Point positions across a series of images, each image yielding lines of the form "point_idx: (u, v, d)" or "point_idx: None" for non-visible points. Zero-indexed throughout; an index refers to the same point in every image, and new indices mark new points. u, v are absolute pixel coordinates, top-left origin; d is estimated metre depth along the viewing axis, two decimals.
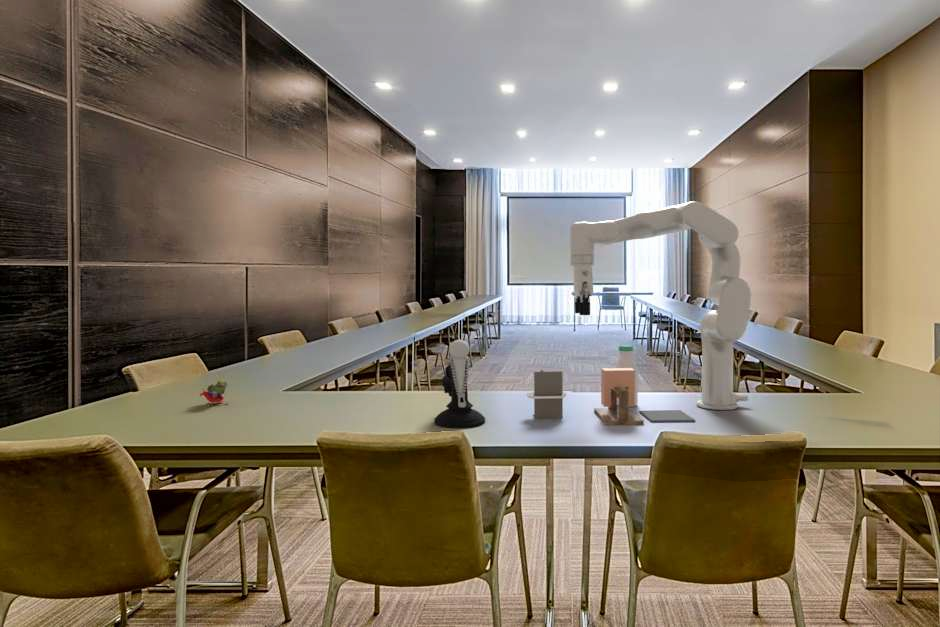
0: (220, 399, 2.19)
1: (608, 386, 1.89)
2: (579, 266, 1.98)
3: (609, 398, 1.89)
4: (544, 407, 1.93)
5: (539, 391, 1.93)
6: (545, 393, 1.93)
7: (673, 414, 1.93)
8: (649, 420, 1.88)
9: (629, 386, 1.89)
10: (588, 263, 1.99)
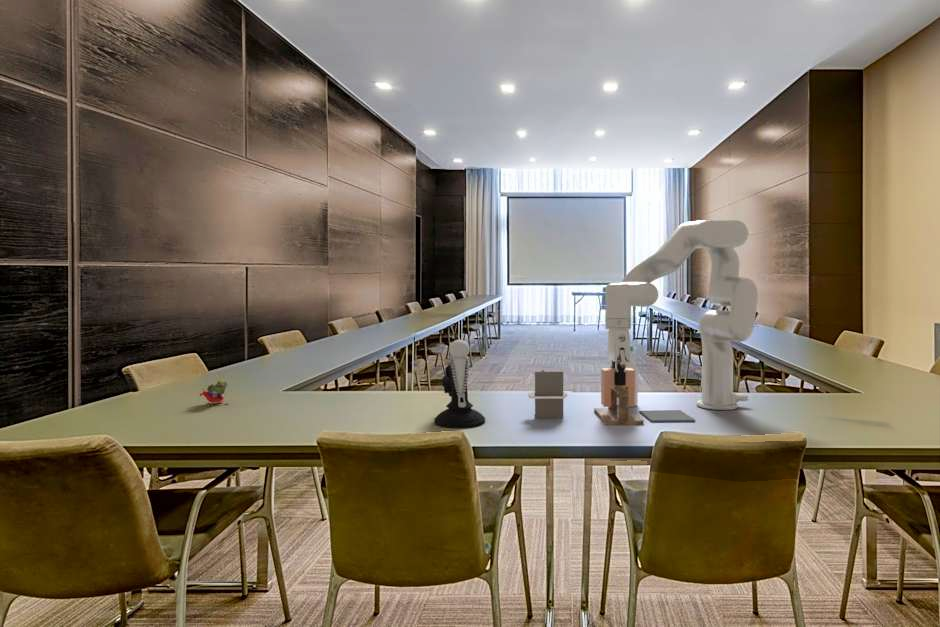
0: (220, 399, 2.19)
1: (608, 386, 1.89)
2: (616, 331, 1.86)
3: (609, 398, 1.89)
4: (545, 407, 1.93)
5: (540, 391, 1.93)
6: (546, 393, 1.93)
7: (673, 414, 1.93)
8: (649, 420, 1.88)
9: (629, 386, 1.89)
10: (625, 327, 1.87)
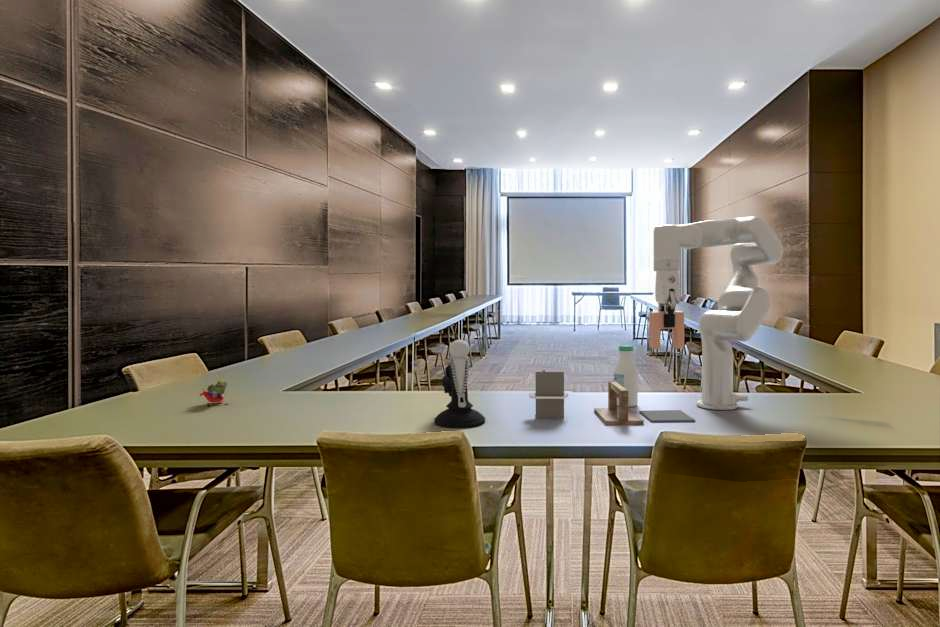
0: (220, 399, 2.19)
1: (657, 328, 1.88)
2: (665, 272, 1.85)
3: (658, 340, 1.89)
4: (545, 407, 1.93)
5: (540, 391, 1.93)
6: (546, 393, 1.93)
7: (673, 414, 1.93)
8: (649, 420, 1.88)
9: (678, 328, 1.89)
10: (674, 268, 1.86)
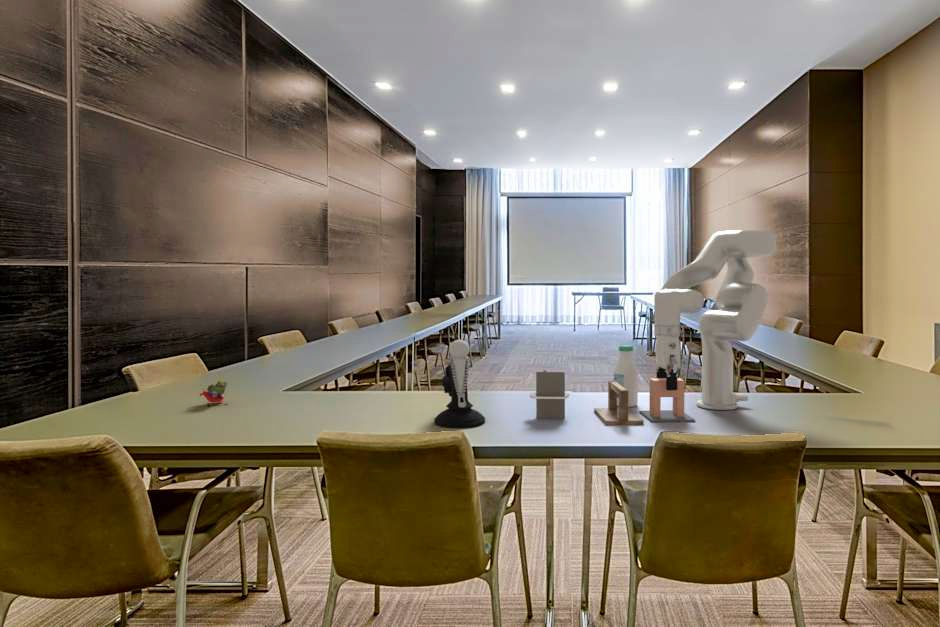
0: (220, 399, 2.19)
1: (658, 396, 1.90)
2: (666, 338, 1.87)
3: (658, 408, 1.90)
4: (546, 407, 1.93)
5: (541, 391, 1.93)
6: (547, 393, 1.92)
7: (673, 414, 1.93)
8: (649, 420, 1.88)
9: (678, 396, 1.90)
10: (675, 335, 1.87)
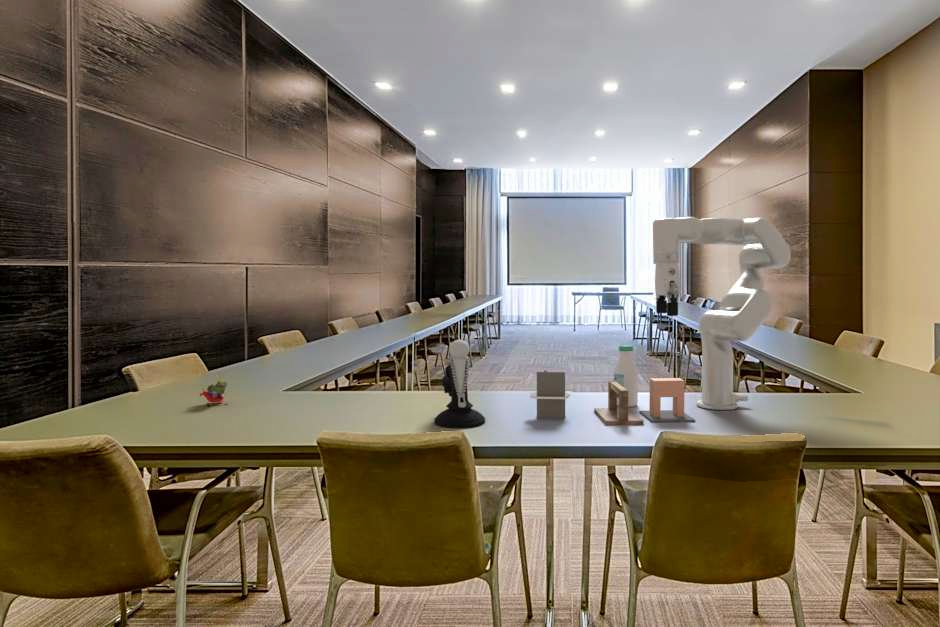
0: (220, 399, 2.19)
1: (658, 396, 1.90)
2: (665, 264, 1.89)
3: (658, 408, 1.90)
4: (546, 407, 1.93)
5: (541, 391, 1.93)
6: (547, 393, 1.92)
7: (673, 414, 1.93)
8: (649, 420, 1.88)
9: (678, 396, 1.90)
10: (674, 261, 1.89)
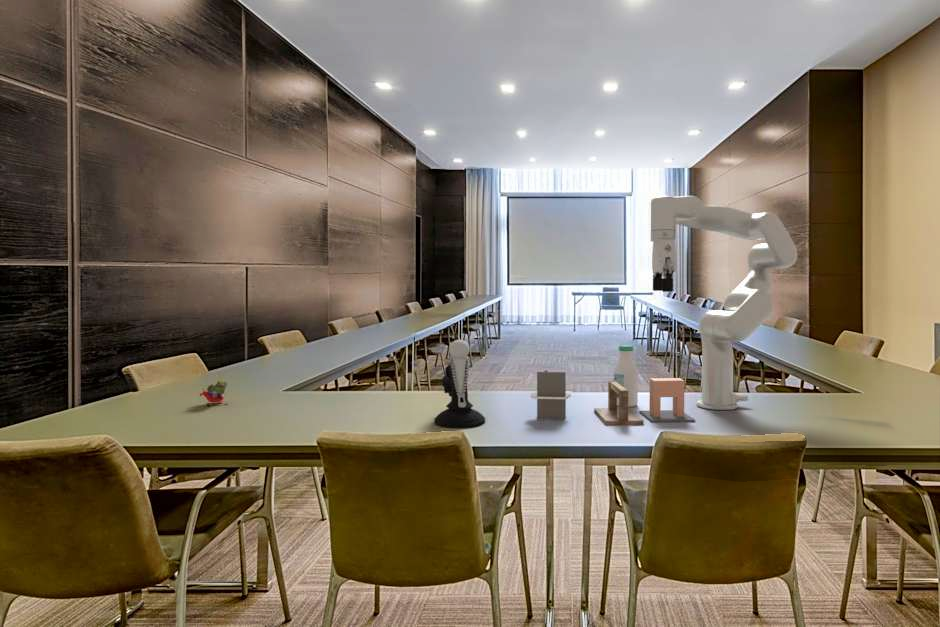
0: (220, 399, 2.19)
1: (658, 396, 1.90)
2: (662, 241, 1.93)
3: (658, 408, 1.90)
4: (547, 408, 1.93)
5: (542, 391, 1.92)
6: (548, 394, 1.92)
7: (673, 414, 1.93)
8: (649, 420, 1.88)
9: (678, 396, 1.90)
10: (671, 238, 1.93)
